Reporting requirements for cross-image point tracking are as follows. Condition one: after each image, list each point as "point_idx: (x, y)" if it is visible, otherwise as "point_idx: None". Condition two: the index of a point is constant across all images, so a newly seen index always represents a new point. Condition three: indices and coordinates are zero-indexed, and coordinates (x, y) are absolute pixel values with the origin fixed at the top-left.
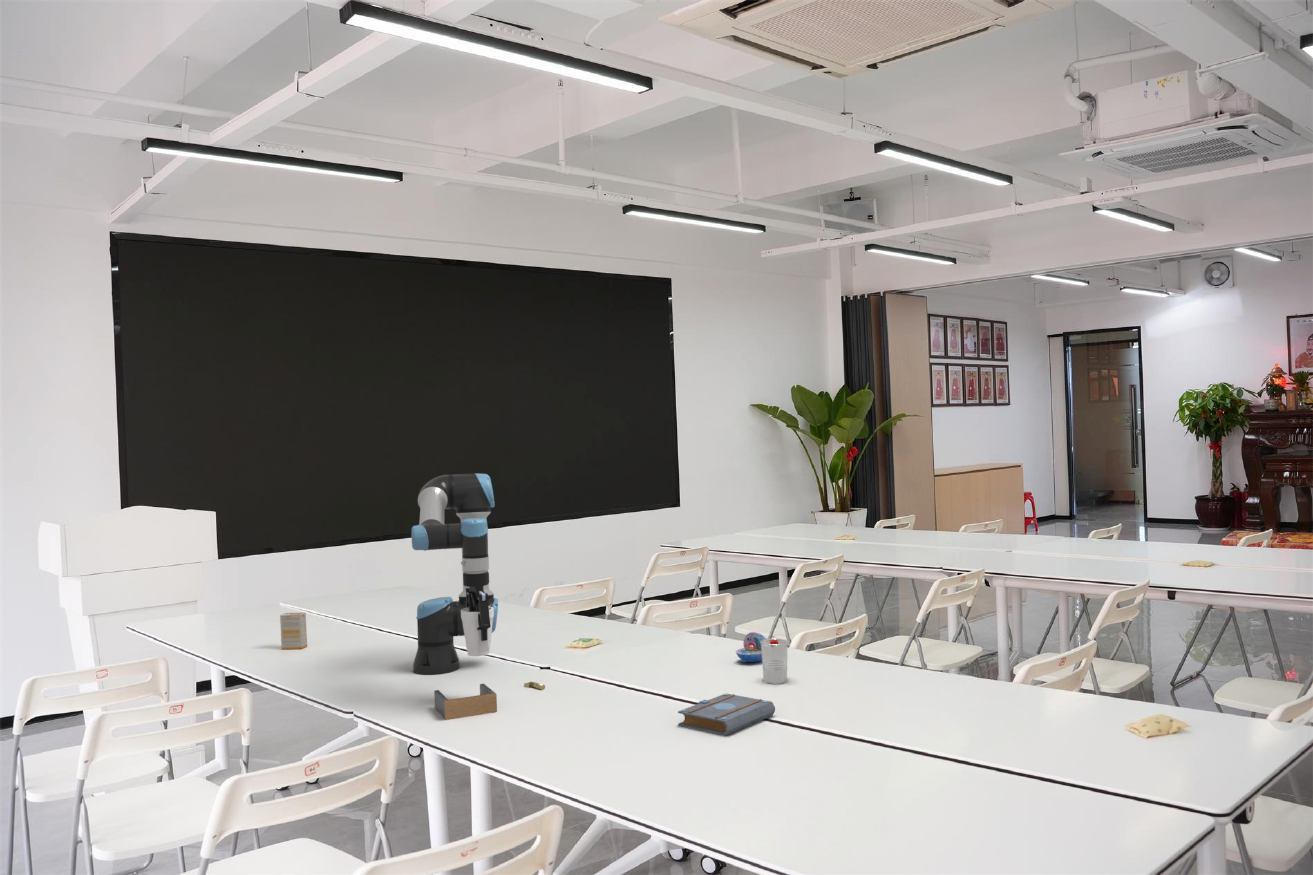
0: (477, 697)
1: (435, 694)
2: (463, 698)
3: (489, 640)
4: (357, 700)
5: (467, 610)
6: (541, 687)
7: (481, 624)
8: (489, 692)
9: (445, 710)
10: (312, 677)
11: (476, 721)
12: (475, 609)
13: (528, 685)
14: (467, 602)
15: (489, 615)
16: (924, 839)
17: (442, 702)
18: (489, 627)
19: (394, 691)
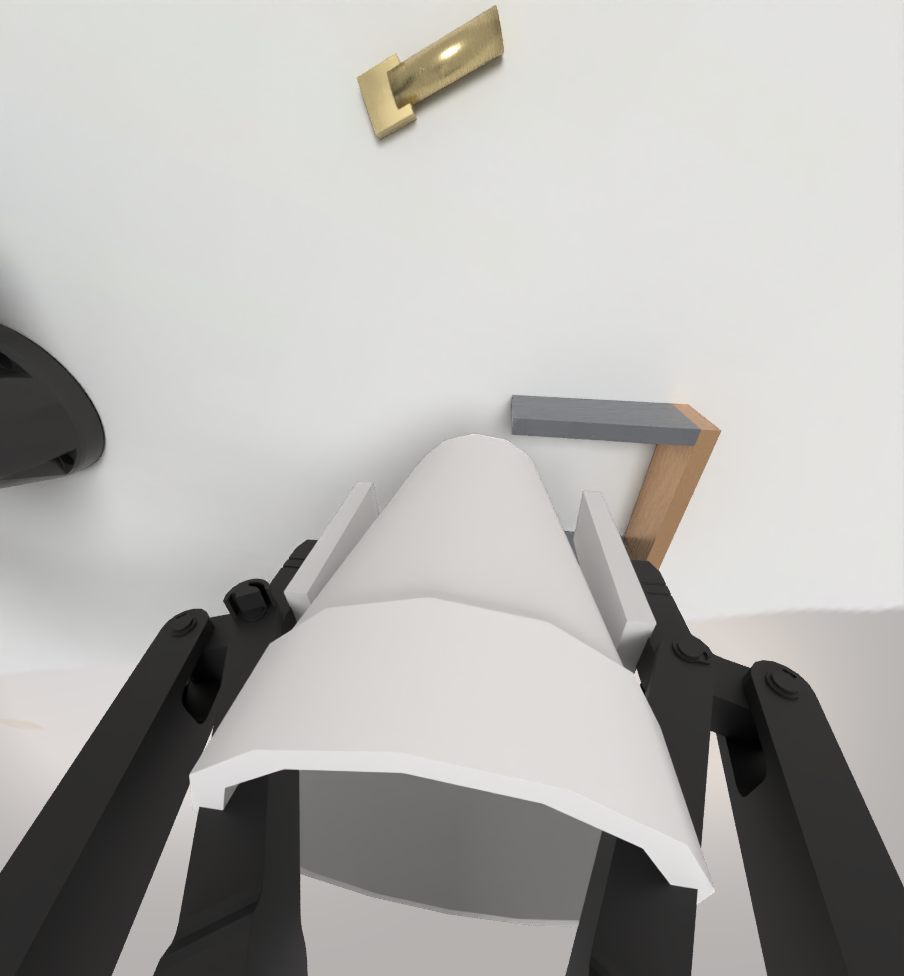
0: (688, 498)
1: None
2: (669, 540)
3: (543, 496)
4: None
5: (302, 821)
6: (502, 45)
7: (746, 757)
8: (667, 443)
9: None
10: (114, 627)
11: (730, 493)
12: (278, 786)
13: (410, 117)
14: (131, 915)
15: (660, 745)
16: None
17: None
18: (780, 671)
19: (278, 555)
